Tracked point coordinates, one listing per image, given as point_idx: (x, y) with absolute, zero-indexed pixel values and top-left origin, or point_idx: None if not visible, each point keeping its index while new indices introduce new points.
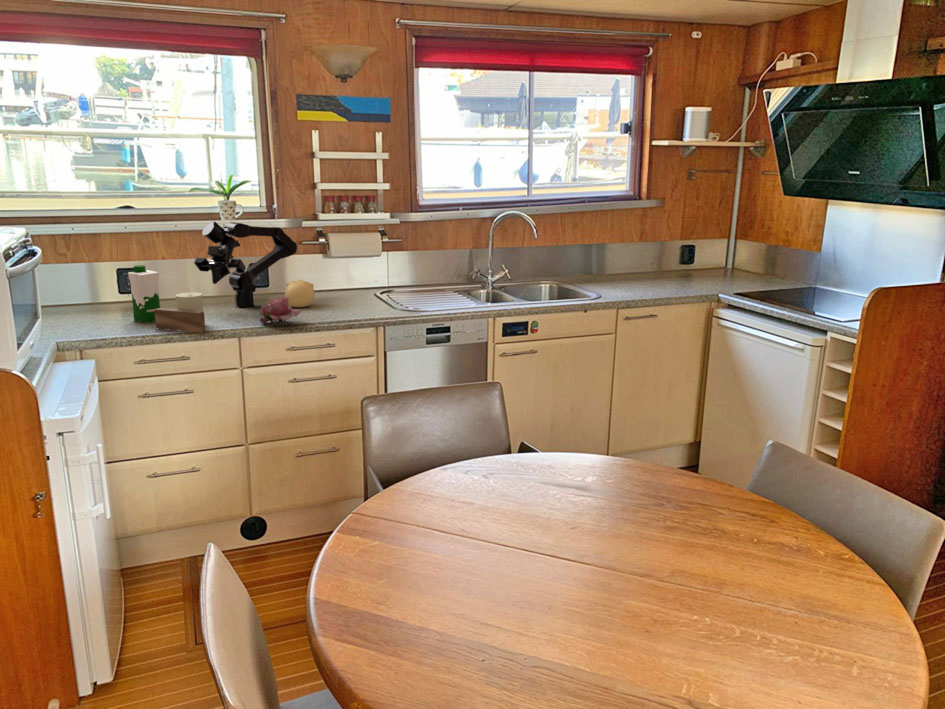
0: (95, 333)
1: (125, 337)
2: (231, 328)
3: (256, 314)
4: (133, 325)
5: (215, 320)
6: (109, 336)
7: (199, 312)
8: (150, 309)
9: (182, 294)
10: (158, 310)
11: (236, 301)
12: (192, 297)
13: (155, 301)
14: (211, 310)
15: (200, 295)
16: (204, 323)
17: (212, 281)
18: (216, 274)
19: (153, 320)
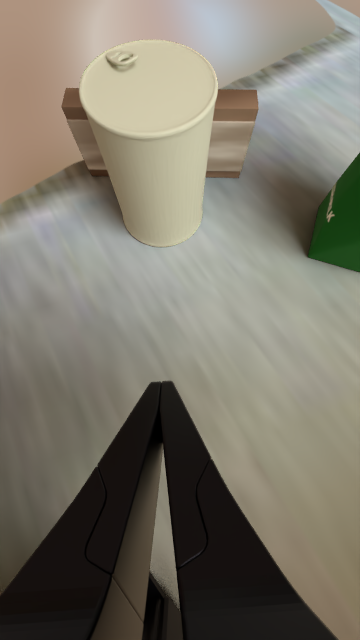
0: (344, 96)
1: (247, 87)
2: (29, 218)
3: (14, 448)
4: (329, 178)
5: (130, 299)
6: (289, 85)
7: (69, 92)
8: (338, 180)
9: (189, 85)
10: (238, 92)
11: (165, 621)
12: (103, 58)
13: (354, 170)
14: (248, 470)
15: (79, 84)
16: (82, 152)
17: (175, 387)
18: (132, 467)
19: (315, 225)
